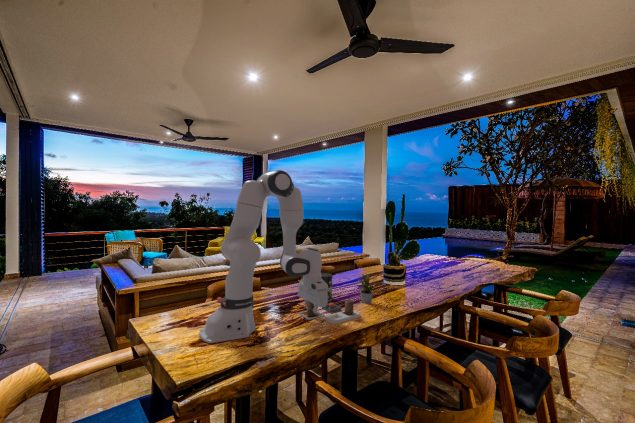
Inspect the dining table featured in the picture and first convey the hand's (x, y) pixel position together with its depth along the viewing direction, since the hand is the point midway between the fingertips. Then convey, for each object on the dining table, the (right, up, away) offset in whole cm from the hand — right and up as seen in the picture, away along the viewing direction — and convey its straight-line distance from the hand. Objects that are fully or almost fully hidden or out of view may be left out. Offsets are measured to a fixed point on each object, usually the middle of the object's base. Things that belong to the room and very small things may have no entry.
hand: (311, 310), depth 141 cm
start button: (+10, -2, +8) cm, 13 cm away
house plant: (+29, -3, +23) cm, 37 cm away
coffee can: (+6, -3, +28) cm, 28 cm away
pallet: (+15, -3, -3) cm, 15 cm away
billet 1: (0, -2, 0) cm, 2 cm away
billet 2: (+18, -2, -1) cm, 18 cm away
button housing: (+10, -3, +8) cm, 13 cm away
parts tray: (0, -3, 0) cm, 3 cm away
